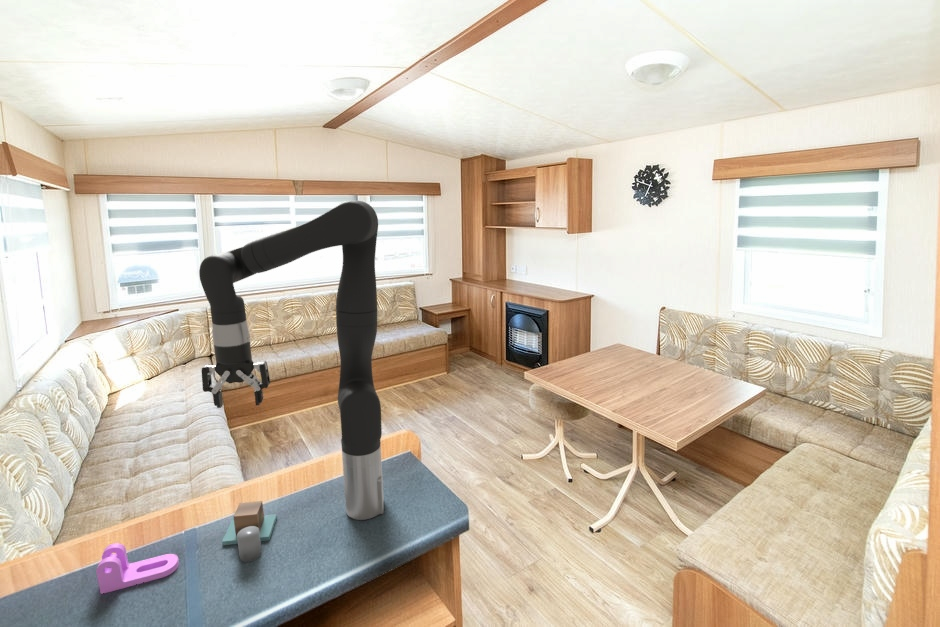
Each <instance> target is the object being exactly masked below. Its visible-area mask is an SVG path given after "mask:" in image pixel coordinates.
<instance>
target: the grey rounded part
mask: <svg viewBox="0 0 940 627" xmlns="http://www.w3.org/2000/svg"><path fill="white" fill-rule="evenodd" d="M237 540H238V544H237V547H238V554H239V560H240V561H241V562H244V563H250V562H253V561H255V560H257V559H258V558H259V557H260V556H261V555H262V553H263V550H262V541H260V532H259V528H258V527H256V526H249V527H246V528H243V529H242V530H240V531H239V532H238V534H237Z"/></svg>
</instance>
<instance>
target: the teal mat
mask: <svg viewBox="0 0 940 627" xmlns="http://www.w3.org/2000/svg"><path fill="white" fill-rule="evenodd" d="M277 518H278V515H277V513H276V514H264V521H263V524H262V527H261V530H260V541H261V542H264V541H270V540H271V536H272V533H273V531H274V528H275V525H276V522H277ZM221 544H222V546H229V545H238V540H237V536H236V533H235V525H234V518H232V519H231V522H230V524H229V525H228V527H227V530H226V532H225V534H224V537H223V539H222V540H221Z"/></svg>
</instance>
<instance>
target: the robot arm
mask: <svg viewBox="0 0 940 627" xmlns="http://www.w3.org/2000/svg"><path fill="white" fill-rule="evenodd" d="M378 230H379V219H378V215H377V213H376V211H375V210H374V208H373V207H372V206H371V205H370V204H369V203H367V202H365V201H363V200H354V199H353V200H345V201H343V202H341V203H339V204H337V205H336V206H335V207H333V208H330V209H329V210H327V211H326V212H324V213H323V214H321V215H320V216H318V217H315V218H313V219H312V220H311V219H310V220H309V221H308V222H305V223H301V224H300V225H298V226H294V227H291V228H288V229H285V230H281V231H278V232H275V233H271V234H269V235H267V236H263V237H260V238H258V239H255V240H252V241H250V242H248V243H246V244H245V245H243V246H241V247H238V248H234V249H231V250H228V251H225V252H221V253H217V254H214V255H213V254H212V255H209V256H207V257H205V258H204V259H203V260H202V261H201V263H200V266H199V273H198V274H199V281H200V284H201V287H202V289H203V291H204V295H205V297H206V300H207V301H208V304H209V306H210V316H211V317H210V318H211V322H212V323H211V325H212V329H211V330H212V342H213V349H214V356H215V365H210V364H209V363H206V364H205V365H204V366H203V367H202V368H201V381H202V382H201V383H202V391H203V392H205V393H206V392H208V393H211V394H212V399H213V405H214V406H215V407H216V408H217V409H221V408H222V407H223V406H224V400H223V393H222V392H223V391H222V390H221V388H222V387H223V385H224V384H225V382H226V383H227V384H233V383H234V384H235V383H237V384H239V383H240V384H241V383H244V382H245V383H246V384H247V385H249V386H250V387H251V388H252V389H253V390H254V393H253V394H254V400H255V402H254V403H255V406H260V405H261V403H263V400H264V393H263V389H268V387H269V385H270V384H271V379H270V373H269V367H268V362H267V361H266V360H262V362H256V363H255V362H254V361H253V357H252V356H253V355H252V348H251V339H250V338H251V334H250V331H249V326H248V322H247V314H246V306H245V305H246V304H245V300H244V298H243V297H242V296H240V295H238V294H237V292H236V290H235V286H234V283H237V282H239V281H243V280H245V279H247V278H249V277H252V276H255V275H256V274H260V273H265V272H268V271H272V270H274V269H276V268H279V267H282V266H285V265H287V264H290V263H292V262H294V261H296V260H299V259H300V258H303V257H305V256H307V255H309V254H311V253H315V252H318V251H321V250H324V249H327V248H328V249H329V248H333V247H338V246H341V248H342V266H341V267H342V268H341V273H340V278H339V283H338V287H337V291H336V292H337V293H336V299H335V323H336V335H337V344H338V350H339V351H338V352H339V358H340V370H339V380H338V381H339V382H338V392H337V404H338V408H339V416H340V428H341V429H340V430H341V440H340V444H341V457H342V473H343V474H342V475H343V488H344V501H345V512H346V515H347V516H348V517H349V518H351V519H353V520H359V521H364V520H370V519H372V518H375V517H377V516H379V515H383V514H384V503H385V502H384V485H383V484H384V481H383V480H384V479H383V478H384V477H383V467H382V448H381V446H382V445H381V438H382V432H383V431H382V430H383V429H382V408H381V407H382V406H381V401H380V398H379V396H378V393H377V390H376V389H375V385H374V377H373V364H372V362H373V361H372V358H373V351H374V348H375V344H376V338H377V333H378V296H377V294H378V293H377V280H376V278H377V277H376V276H377V275H376V267H375V266H376V262H375V261H376V248H377V239H378ZM255 369H256V371H257V372H258V373H260V378H261V381H260V379H258V377H257V375H255V373H253V371H254V370H255ZM214 372H215V373H216V374H217V375H218V376H219V377H220V378H219V380H218V381H217V382H216V383H215V384H213V383H212V382H213V381H212V375H213V374H214Z"/></svg>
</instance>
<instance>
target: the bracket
mask: <svg viewBox="0 0 940 627" xmlns="http://www.w3.org/2000/svg"><path fill="white" fill-rule="evenodd" d="M113 553H114V554H113ZM179 560H180V559H179V557H178V555H177V554H176V553H166V554H162V555H158V556H154V557H151V558H146V559H143V560H138V561H135V562H129V559H128V553H127V550H126V547H125V545H124V544H122V543H118V542H116V543H111V544H108V545H107V546H106V547H105V548H104V551H103V553H102V555H101V560H100V562H99V563H98V565H97V568H96V570H95V572H96V578H97V582H98V587H99V591H100V594H101V595H103V593H104V594H106V593H110V592H113V591H118V590H121V589H125V588H129V587H132V586H136V584H137V585H140V584H143V582H144V583H147V582H150V581H154V580H158V579H161V578H166V577H167V576H169V575H171V574H173V573H174V572H175V571H176V570H177V569H178V567H179V565H180V562H179Z"/></svg>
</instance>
